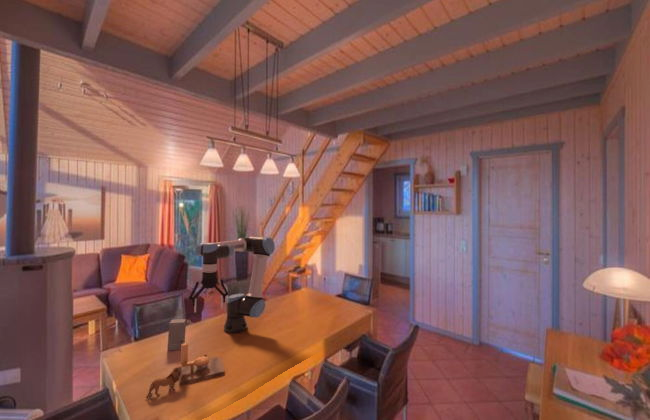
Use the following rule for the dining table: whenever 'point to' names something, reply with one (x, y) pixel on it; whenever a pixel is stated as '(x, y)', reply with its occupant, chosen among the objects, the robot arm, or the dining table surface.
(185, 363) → the tan piece
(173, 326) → the skincare box
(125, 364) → the dining table surface
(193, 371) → the board
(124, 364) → the dining table surface
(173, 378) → the lion figurine
